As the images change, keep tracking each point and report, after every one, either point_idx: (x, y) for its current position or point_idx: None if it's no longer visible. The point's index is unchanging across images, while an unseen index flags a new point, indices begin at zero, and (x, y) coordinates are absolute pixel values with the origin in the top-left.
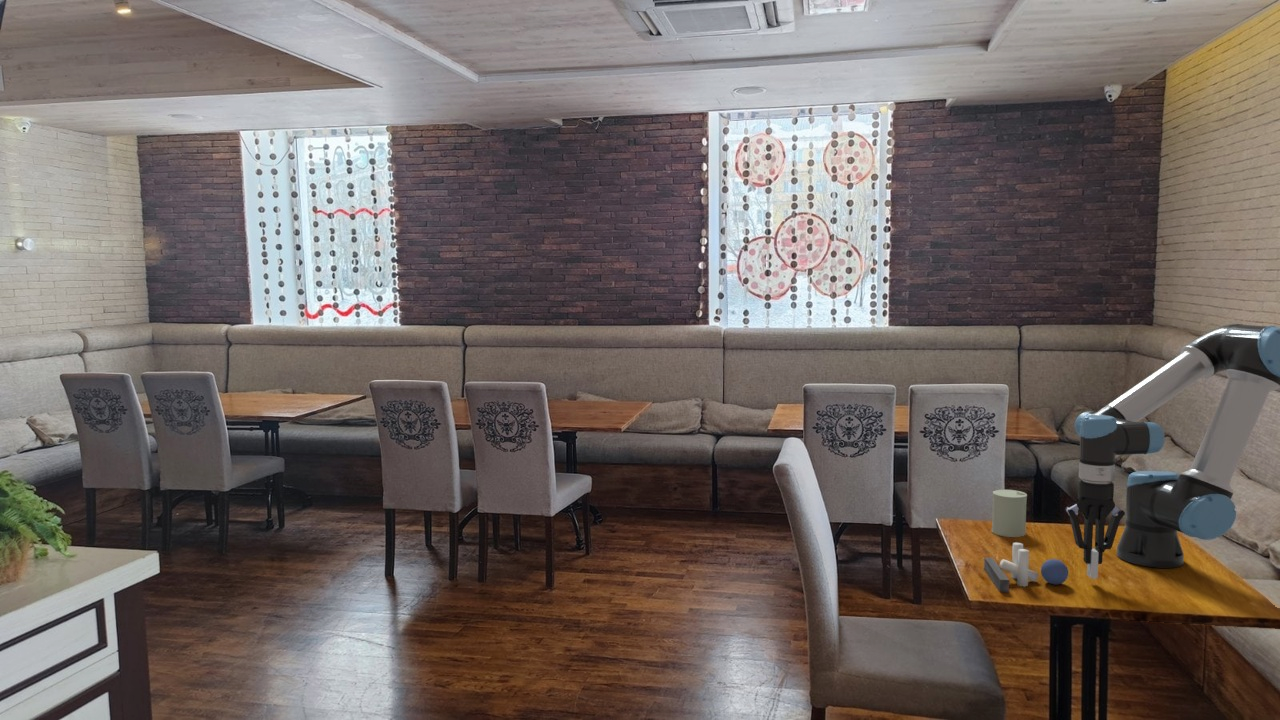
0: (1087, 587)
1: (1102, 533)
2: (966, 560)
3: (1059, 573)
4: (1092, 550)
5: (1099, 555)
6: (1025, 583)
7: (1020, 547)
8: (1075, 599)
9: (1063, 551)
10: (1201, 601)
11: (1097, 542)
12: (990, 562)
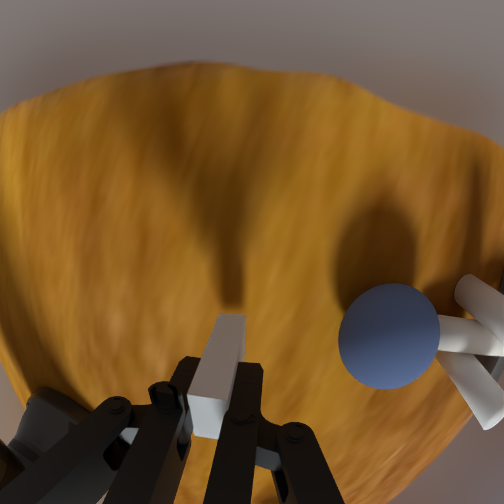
0: (267, 285)
1: (122, 491)
2: (462, 421)
3: (403, 293)
4: (215, 417)
5: (184, 386)
6: (472, 277)
7: (501, 399)
8: (367, 149)
9: None
10: (10, 190)
11: (175, 450)
12: (498, 374)
